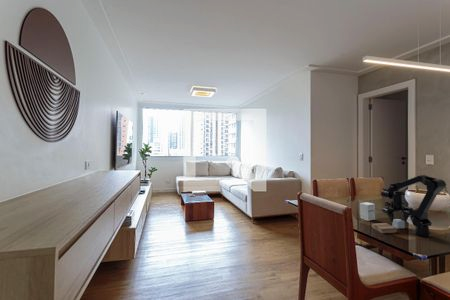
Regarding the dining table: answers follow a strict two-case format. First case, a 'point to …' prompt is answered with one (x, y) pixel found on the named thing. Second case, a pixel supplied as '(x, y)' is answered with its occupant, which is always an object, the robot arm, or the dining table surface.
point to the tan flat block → (384, 228)
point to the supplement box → (367, 211)
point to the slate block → (398, 223)
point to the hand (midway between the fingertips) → (398, 222)
